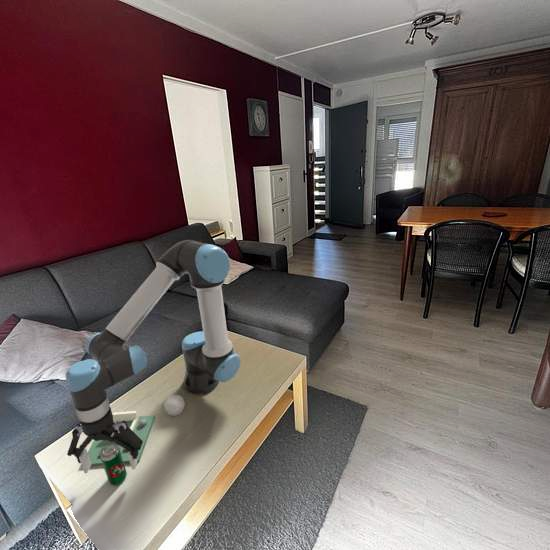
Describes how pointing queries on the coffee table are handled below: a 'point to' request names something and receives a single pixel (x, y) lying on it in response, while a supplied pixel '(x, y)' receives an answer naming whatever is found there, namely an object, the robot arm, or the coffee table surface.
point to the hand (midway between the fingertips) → (111, 466)
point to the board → (136, 424)
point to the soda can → (113, 464)
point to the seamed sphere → (174, 405)
